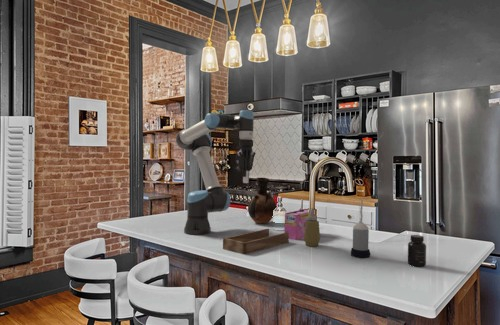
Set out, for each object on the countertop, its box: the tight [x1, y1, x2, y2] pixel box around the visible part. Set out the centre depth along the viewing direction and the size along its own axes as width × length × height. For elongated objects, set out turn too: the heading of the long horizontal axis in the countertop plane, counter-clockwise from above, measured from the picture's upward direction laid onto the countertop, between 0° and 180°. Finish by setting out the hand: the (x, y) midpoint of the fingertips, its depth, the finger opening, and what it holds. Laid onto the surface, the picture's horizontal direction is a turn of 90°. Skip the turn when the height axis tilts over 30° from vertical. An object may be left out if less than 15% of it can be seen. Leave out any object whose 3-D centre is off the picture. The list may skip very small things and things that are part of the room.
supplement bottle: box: [407, 234, 427, 268], centre depth 150 cm, size 7×7×12 cm
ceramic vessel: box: [247, 176, 277, 224], centre depth 241 cm, size 21×18×30 cm
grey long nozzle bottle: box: [350, 199, 371, 259], centre depth 163 cm, size 8×8×25 cm
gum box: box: [284, 208, 318, 241], centre depth 204 cm, size 24×8×14 cm, turn 141°
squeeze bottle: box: [303, 208, 321, 247], centre depth 181 cm, size 8×8×18 cm
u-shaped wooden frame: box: [222, 228, 290, 255], centre depth 179 cm, size 14×33×5 cm, turn 138°
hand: (245, 182), depth 198 cm, fingers closed
